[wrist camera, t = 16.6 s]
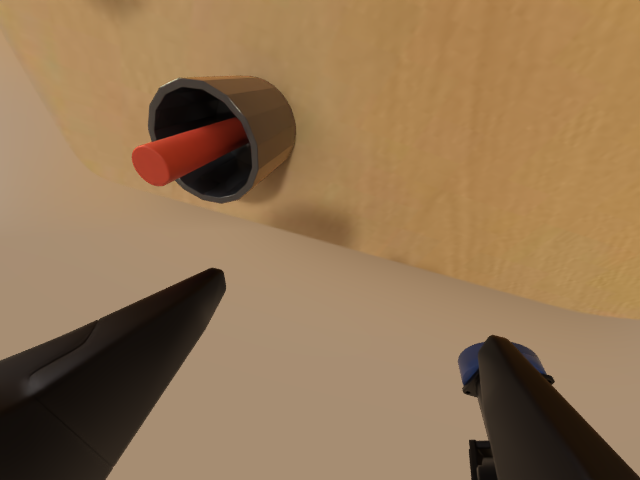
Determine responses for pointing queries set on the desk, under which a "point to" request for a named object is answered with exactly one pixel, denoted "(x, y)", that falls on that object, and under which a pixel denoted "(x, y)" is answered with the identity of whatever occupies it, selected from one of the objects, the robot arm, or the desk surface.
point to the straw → (187, 151)
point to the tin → (218, 105)
